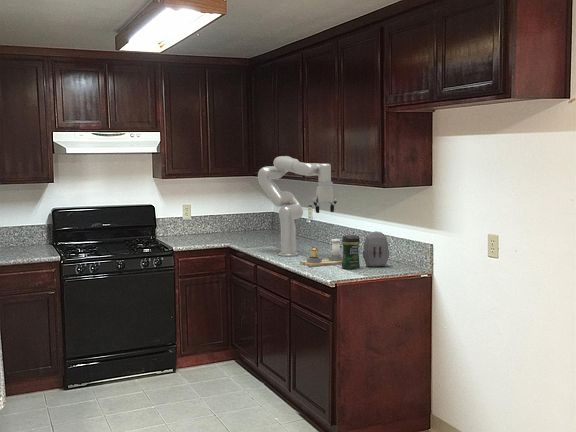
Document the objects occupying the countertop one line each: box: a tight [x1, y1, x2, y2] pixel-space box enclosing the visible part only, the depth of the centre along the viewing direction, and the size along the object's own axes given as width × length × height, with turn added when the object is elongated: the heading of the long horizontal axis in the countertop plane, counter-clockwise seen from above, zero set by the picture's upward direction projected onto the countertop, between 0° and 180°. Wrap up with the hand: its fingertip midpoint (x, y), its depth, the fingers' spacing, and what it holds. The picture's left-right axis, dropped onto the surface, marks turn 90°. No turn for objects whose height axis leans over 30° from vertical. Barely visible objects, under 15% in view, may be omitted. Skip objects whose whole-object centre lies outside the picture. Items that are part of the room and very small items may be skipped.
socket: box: [306, 256, 323, 263], centre depth 373 cm, size 8×8×2 cm
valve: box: [309, 246, 319, 259], centre depth 373 cm, size 6×5×9 cm
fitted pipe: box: [327, 238, 343, 261], centre depth 378 cm, size 8×8×12 cm
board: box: [299, 258, 342, 268], centre depth 376 cm, size 14×24×2 cm, turn 113°
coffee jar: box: [341, 234, 361, 270], centre depth 359 cm, size 10×8×19 cm
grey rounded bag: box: [362, 231, 390, 268], centre depth 363 cm, size 15×8×20 cm, turn 92°
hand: (324, 212), depth 391 cm, fingers open, 9 cm apart
